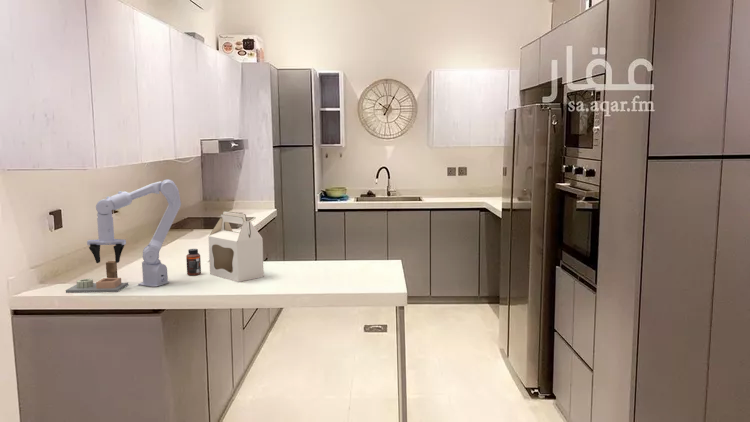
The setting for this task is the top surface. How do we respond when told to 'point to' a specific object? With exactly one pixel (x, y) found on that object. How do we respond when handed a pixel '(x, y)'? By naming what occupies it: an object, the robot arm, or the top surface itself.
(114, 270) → the square bit
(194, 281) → the top surface
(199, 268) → the supplement bottle
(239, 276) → the gable box
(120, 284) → the socket block
